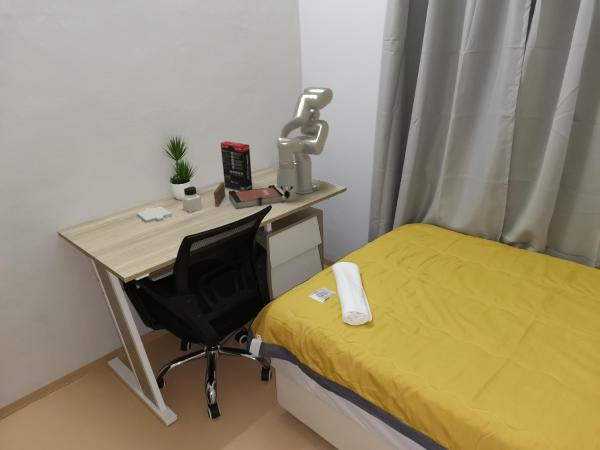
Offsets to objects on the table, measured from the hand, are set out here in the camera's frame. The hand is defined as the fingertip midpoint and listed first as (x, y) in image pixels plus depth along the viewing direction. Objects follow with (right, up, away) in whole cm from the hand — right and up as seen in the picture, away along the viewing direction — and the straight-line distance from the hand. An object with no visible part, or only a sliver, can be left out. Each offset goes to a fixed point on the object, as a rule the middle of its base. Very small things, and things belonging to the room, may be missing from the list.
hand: (287, 198), depth 216 cm
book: (-17, -2, +4) cm, 18 cm away
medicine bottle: (-49, -6, -6) cm, 50 cm away
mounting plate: (-67, -10, -13) cm, 69 cm away
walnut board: (-37, -1, +4) cm, 37 cm away
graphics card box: (-30, +7, +23) cm, 38 cm away
